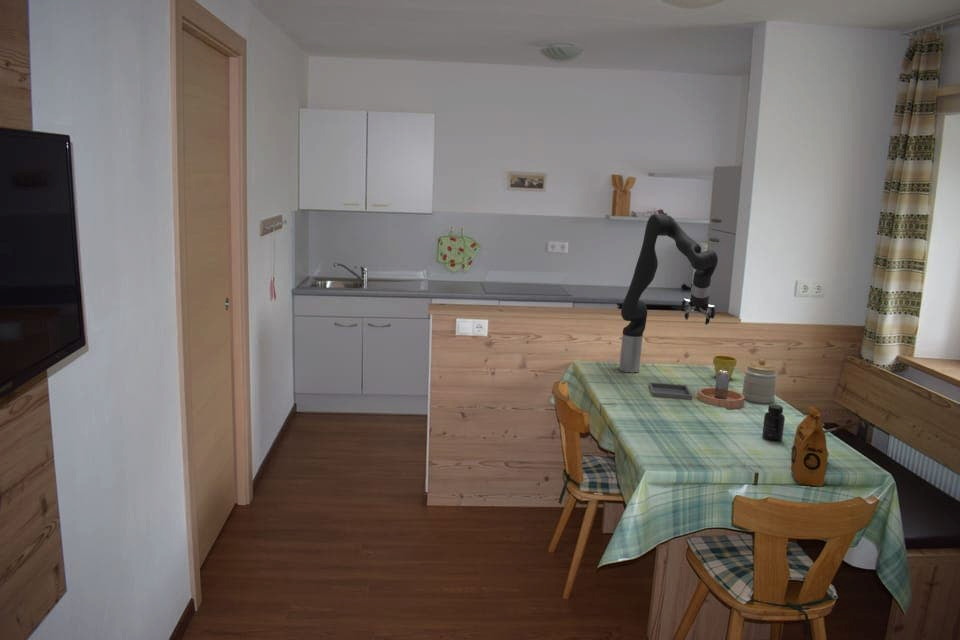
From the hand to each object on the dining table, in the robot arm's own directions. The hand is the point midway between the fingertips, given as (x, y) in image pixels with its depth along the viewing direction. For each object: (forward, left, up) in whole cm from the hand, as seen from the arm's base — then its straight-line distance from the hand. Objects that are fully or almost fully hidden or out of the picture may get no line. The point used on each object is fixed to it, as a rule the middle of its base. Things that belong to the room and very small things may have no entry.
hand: (696, 321), depth 332 cm
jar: (+26, -15, -29) cm, 42 cm away
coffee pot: (+31, -85, -29) cm, 95 cm away
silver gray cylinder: (+9, -24, -28) cm, 38 cm away
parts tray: (-11, -19, -29) cm, 36 cm away
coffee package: (+20, -103, -29) cm, 109 cm away
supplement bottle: (+19, -66, -29) cm, 74 cm away
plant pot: (+18, +17, -29) cm, 38 cm away
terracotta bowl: (+9, -24, -29) cm, 38 cm away
